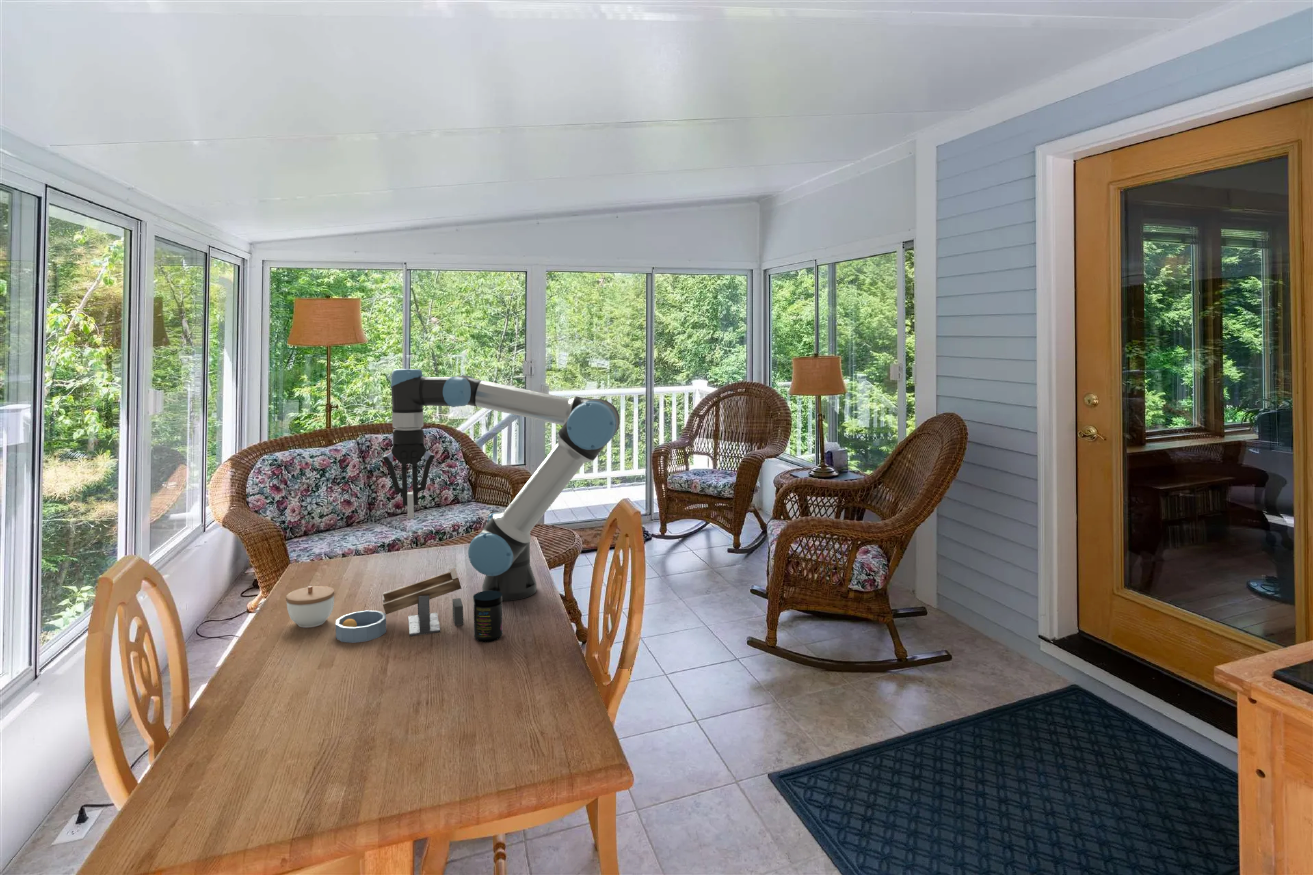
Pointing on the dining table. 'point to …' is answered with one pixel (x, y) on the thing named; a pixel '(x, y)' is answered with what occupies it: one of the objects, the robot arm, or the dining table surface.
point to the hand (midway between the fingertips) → (410, 517)
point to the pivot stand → (423, 619)
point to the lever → (420, 591)
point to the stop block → (458, 611)
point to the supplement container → (487, 616)
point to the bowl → (361, 626)
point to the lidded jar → (310, 605)
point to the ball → (349, 623)
